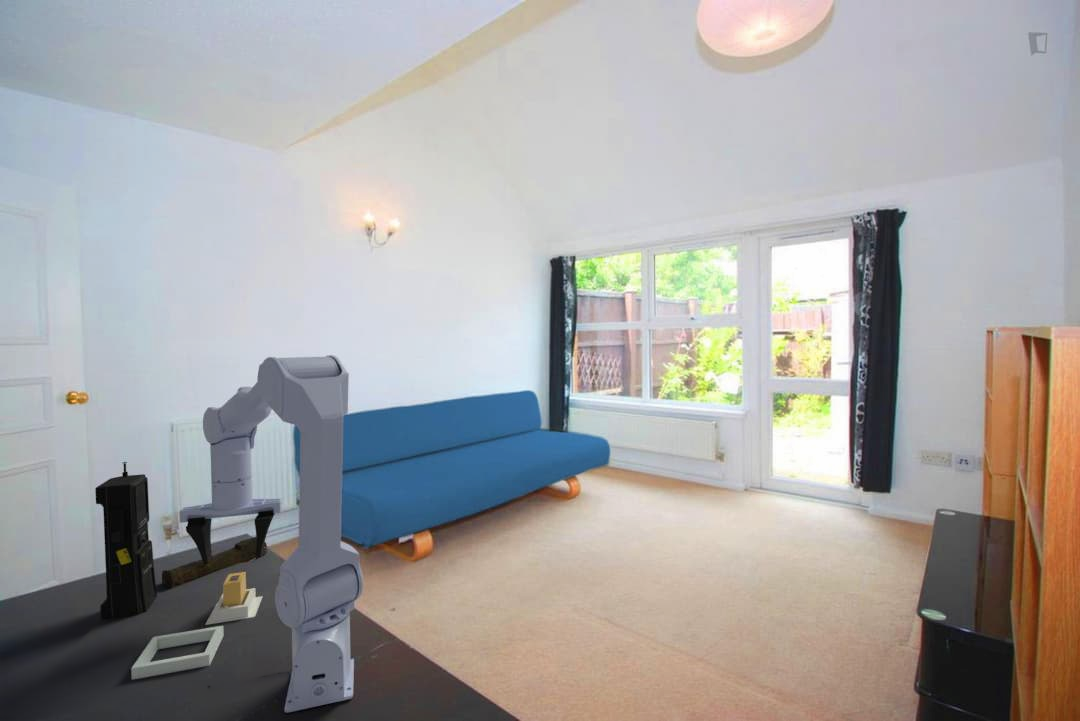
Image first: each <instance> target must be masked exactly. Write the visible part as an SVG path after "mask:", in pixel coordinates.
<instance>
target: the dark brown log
mask: <svg viewBox="0 0 1080 721" xmlns="http://www.w3.org/2000/svg"><path fill="white" fill-rule="evenodd" d="M264 547H266V548H267V549H266V548H263V554H262V557H263V556H264V555H266V554H268V553H267V552H268V546H267V543H266V542H265V543H264ZM265 550H266V551H265ZM254 558H256V536H254V537H253V536H252V537H250V538H248V539H244V540H240V541H238V542H237V543H235V544H234V546H233V547H232V548H230V549H227V550H224V551H220V552H218V553H216V554H213V555H212V557H211V560H210V562H209V563H208V564H205V565H203V561H202V558H201V559H199V560H195V561H191V562H189V563H186V564H184V565H180V566H178V567H175V568H172V569H163V570H162V573H161V584H162V586H164V587H165V588H167V589H174V588H176V587H177V586H181V585H183V584H185V583H188V582H191V581H193V580H196V579H198V578H202V577H204V576H207V575H210V574H213V573H215V572H217V571H220V570H222V569H225V568H229V567H231V566H234V565H237V564H241V563H248V561H250V560H252V559H254Z"/></svg>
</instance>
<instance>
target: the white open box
mask: <svg viewBox="0 0 1080 721" xmlns="http://www.w3.org/2000/svg"><path fill="white" fill-rule="evenodd" d="M263 597H264V595H261V596H256V587H253V588H248V589H247V588H246V594H245V596H244V598H243V600H242V604H243V605H239V606H233V607H228V606H223V593H222V595H220V598H219V600H218V602H217V603H216V604H215V606H214V608H213V609H212V611H211V613H210V615H209V617H208V619H207V621H206V623H205V626H207V625H208V626H209V625H212V624H213V625H215V624H219V623H220V624H221V623H225V622H226V623H227V622H232V621H239V620H245V619H252V618H256V615H257V613H258V610H259V607H260V605H261V603H262V599H263Z"/></svg>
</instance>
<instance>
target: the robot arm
mask: <svg viewBox="0 0 1080 721" xmlns="http://www.w3.org/2000/svg"><path fill="white" fill-rule="evenodd" d="M257 371H258V372H257V376H256V377H257V378H256V379H257V380H256V383H255V384H254V385H253V386H252V387H251V386H240V387H239V388H238V389H237V391H236V393H235V394H233V396H231V397H230V399H228V400H227V401H226V402H225V403H224V404H223V405H222V406H220V407H215V406H211V407H210V406H209V407H207V408H206V410H205V411H204V414H203V418H202V429H203V435H204V438H205V440H206V442H207V443H209V446H210V447H209V448H210V449H209V450H210V479H211V482H210V483H211V502H210V503H205V504H198V505H191V506H184V507H182V508H181V509H180V510H179V523H180V524H181V523H182V524H183V523H187V525H186V526H185V530H186V533H187V534H188V535H189V536H190V537H191V539H192V540H193V542H194V544H195V545H196V547H197V549H198V552H199V555H200V557H201V559H202V561H203V565H205V564H208V563H209V562H210V560H211V557H212V554H213V552H212V541H211V536H212V535H211V532H212V519H218V518H228V517H239V516H246V515H250V516H251V515H256V517H255V519H254V526H255V535H256V536H255V537H256V558H258V559H259V558H262V557H263V556H262V554H263V548H264V543H266V538H267V534H268V531H269V529H270V526H271V523H272V521H273V520H274V517H275V514H279V513H281V512H282V510H283V505H282V504H283V500H282V499H283V498H253V489H252V488H253V486H252V485H253V480H252V449H254V447H255V438H256V437H255V436H256V434H257V431H258V425H259V424H261V423H262V422H264V420H266V419H267V418H268V417H269V416H270V415H271V413H272V411H273V412H274V413H275V414H276V415H277V416H278V418H279V419H281V421H282V422H285V423H288V424H290V425H294V426H296V427H297V429H298V431H299V432H300V435H299V436H300V437H299V444H300V445H299V499H298V502H299V505H298V508H299V509H298V546H297V547H296V549H295V550H294V551H293V552H292V553H291V554H290V555H289V556H288V557H287V558H286V559H285V561H284V562H283V563H282V564H281V565H280V567H279V569H280V570H279V577H278V578H279V579H278V582H277V586H276V588H275V594H274V604H275V608H276V612H277V615H278V617H279V619H280V620H281V622H282V623H283V624H284V625H285V626H287V627H288V628H290V629H291V652H292V653H291V654H292V660H291V661H292V664H291V665H292V667H291V668H292V671H291V676H290V681H289V684H288V690H287V694H286V695H287V696H286V698H285V704H284V710H283V711H284V713H292V712H297V711H301V710H307V709H311V708H315V707H320V706H323V705H328V704H333V703H340V702H343V701H348V700H351V699H352V698H353V696H354V681H355V680H354V678H355V676H354V675H355V674H354V673H355V672H354V671H355V657H351V612H352V611H353V610H355V608H356V607H355V601H357V600H358V599H359V598H360V597H361V596H362V592H363V588H364V576H363V572H362V569H361V563H360V562H361V561H360V553H359V552H358V551H357V549H356V548H355V547H353V546H352V545H350V544H348V543H347V542H344V541H342V506H343V504H342V503H343V502H342V499H343V496H342V495H343V494H342V493H343V492H342V491H343V460H344V459H343V455H344V452H343V451H344V450H343V449H344V446H343V445H344V417H345V415H346V414H348V412H349V408H348V407H349V381H350V380H349V378H350V377H349V372H348V370H347V369H346V367H345V366H344V364H343V363H342V361H341V359H339V357H337V356H336V355H331V354H329V355H326V356H303V357H302V356H298V357H275V356H270V357H269V356H268V357H266V358H265V359H264V360H263V362H262V363H261V364H260V363H259V365H258V370H257Z"/></svg>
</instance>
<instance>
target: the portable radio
mask: <svg viewBox="0 0 1080 721" xmlns="http://www.w3.org/2000/svg"><path fill="white" fill-rule="evenodd" d="M127 463H128V462H127V461H124V462H122V464H123V472H122V473H121V474H122V475H121V476H117V477H116V476H115V477H111V478H108V479H107V480H106V481H104V482H103V483H101V484H99V485H98V486H97V487H95V488H94V489H95V492H94V493H95V504H96V505H101V507H102V508H103V509H102V510H103V512H102V513H103V533H104V554H105V555H104V557H105V558H104V559H105V560H104V561H105V581H106V585H105V586H106V599H104V601H103V602H102V603H101V604H100V605H99V606H100V620H113V619H120V618H124V617H125V618H127V617H133V616H138V615H141V614H143V613H146V612H147V611H148V610H149V609H150V607H151V606H152V605H153V603H154V602H155V600H156V599H157V597H158V590H157V584H156V575H155V564H154V553H153V552H154V551H153V550H154V549H153V541H152V540H149V538H150V536H149V522H150V502H149V485H148V484H149V482H148V481H149V480H148V477H146V474H144V473H143V474H133V475H132V474H131V475H130V474H129V473H128V472H129V471H127Z"/></svg>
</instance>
